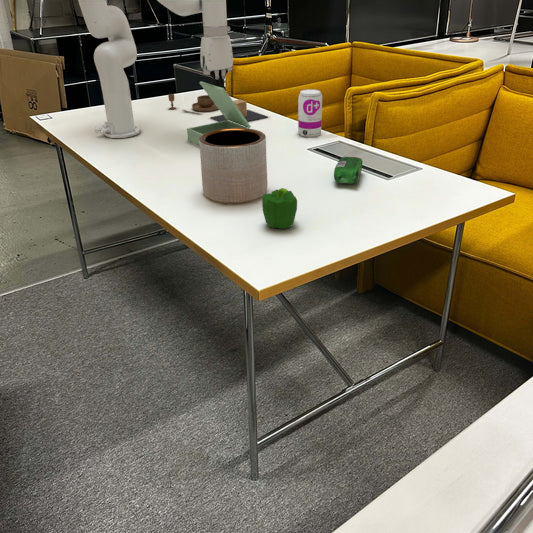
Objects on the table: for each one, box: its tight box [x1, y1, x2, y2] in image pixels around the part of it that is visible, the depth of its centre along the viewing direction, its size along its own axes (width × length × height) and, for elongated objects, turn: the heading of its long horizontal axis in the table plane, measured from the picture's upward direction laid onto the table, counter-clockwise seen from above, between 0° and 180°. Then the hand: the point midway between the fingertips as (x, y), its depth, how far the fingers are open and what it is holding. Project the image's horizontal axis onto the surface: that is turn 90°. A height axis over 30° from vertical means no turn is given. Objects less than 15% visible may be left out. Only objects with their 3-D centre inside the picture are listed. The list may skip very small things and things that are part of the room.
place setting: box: [167, 93, 219, 115], centre depth 235 cm, size 18×20×6 cm
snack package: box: [333, 156, 364, 185], centre depth 159 cm, size 7×16×5 cm, turn 165°
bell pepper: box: [261, 187, 298, 230], centre depth 132 cm, size 8×8×10 cm
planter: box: [199, 128, 268, 204], centre depth 149 cm, size 18×18×16 cm
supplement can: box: [297, 88, 323, 138], centre depth 196 cm, size 8×8×15 cm
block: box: [232, 99, 248, 117], centre depth 219 cm, size 4×4×6 cm
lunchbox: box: [186, 120, 250, 146], centre depth 192 cm, size 17×15×5 cm
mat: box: [210, 109, 269, 123], centre depth 220 cm, size 18×14×1 cm
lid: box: [199, 81, 252, 129], centre depth 189 cm, size 17×15×1 cm
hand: (219, 90), depth 185 cm, fingers closed
